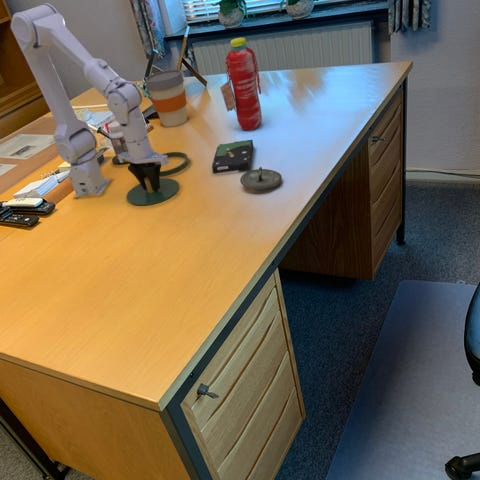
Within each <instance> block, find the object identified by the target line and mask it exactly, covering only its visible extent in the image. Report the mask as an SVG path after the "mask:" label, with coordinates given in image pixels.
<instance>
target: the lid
mask: <svg viewBox="0 0 480 480" xmlns="http://www.w3.org/2000/svg"><path fill="white" fill-rule="evenodd" d="M282 181H283V179H282V174H281V173H280V172H278V171H276V170H273V169H266V168H262V166H260V167H259V168H257V169H252V170H251V169H250V170H247V171H246V172H245V173H243V174H241V177H240V179H239V182H240V184H241V185H242V186H243V187H245V188H248V189H251V190H269V189H273V188H276V187H278V186H279V185H280V184H281V183H282Z"/></svg>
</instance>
